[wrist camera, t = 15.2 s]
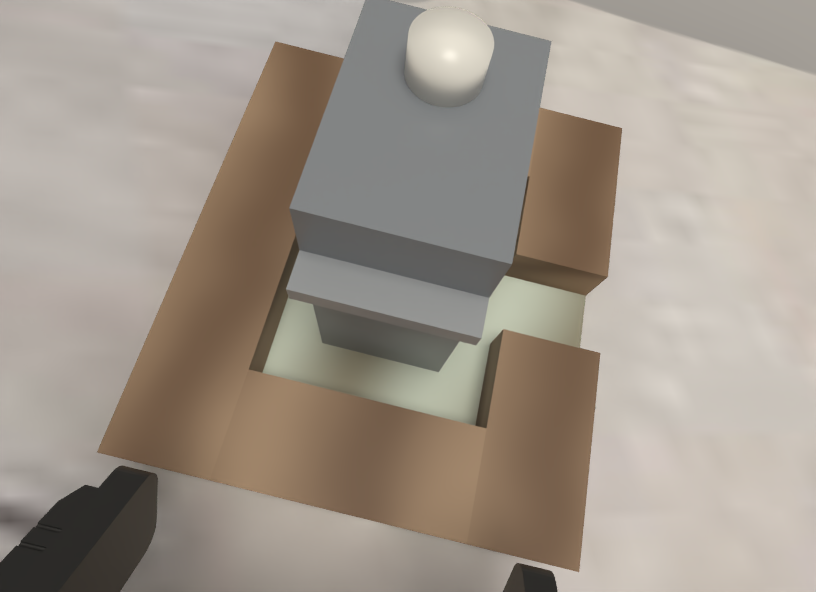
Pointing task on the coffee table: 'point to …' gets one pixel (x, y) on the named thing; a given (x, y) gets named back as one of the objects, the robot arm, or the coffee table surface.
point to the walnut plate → (373, 376)
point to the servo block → (416, 181)
